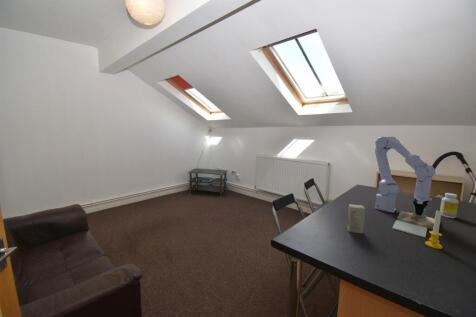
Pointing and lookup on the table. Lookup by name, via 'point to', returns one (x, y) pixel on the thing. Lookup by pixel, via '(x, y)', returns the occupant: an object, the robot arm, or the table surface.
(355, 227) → the skincare box
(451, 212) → the supplement bottle
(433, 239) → the candle
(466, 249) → the table surface
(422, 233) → the coaster
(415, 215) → the teal cube
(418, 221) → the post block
